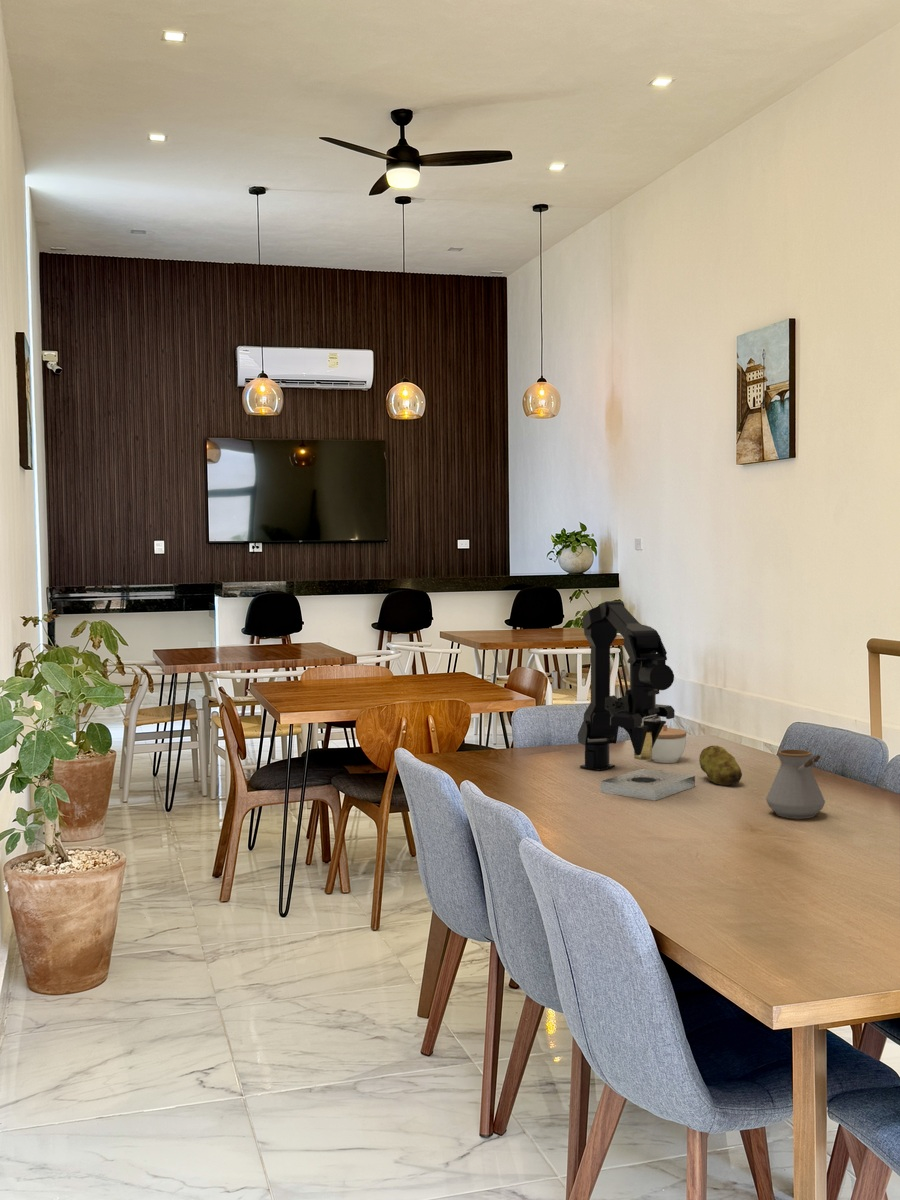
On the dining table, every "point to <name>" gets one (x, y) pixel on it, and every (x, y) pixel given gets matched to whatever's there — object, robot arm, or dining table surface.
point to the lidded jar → (669, 745)
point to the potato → (720, 766)
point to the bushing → (646, 748)
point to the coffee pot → (796, 786)
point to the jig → (647, 784)
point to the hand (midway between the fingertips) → (643, 753)
